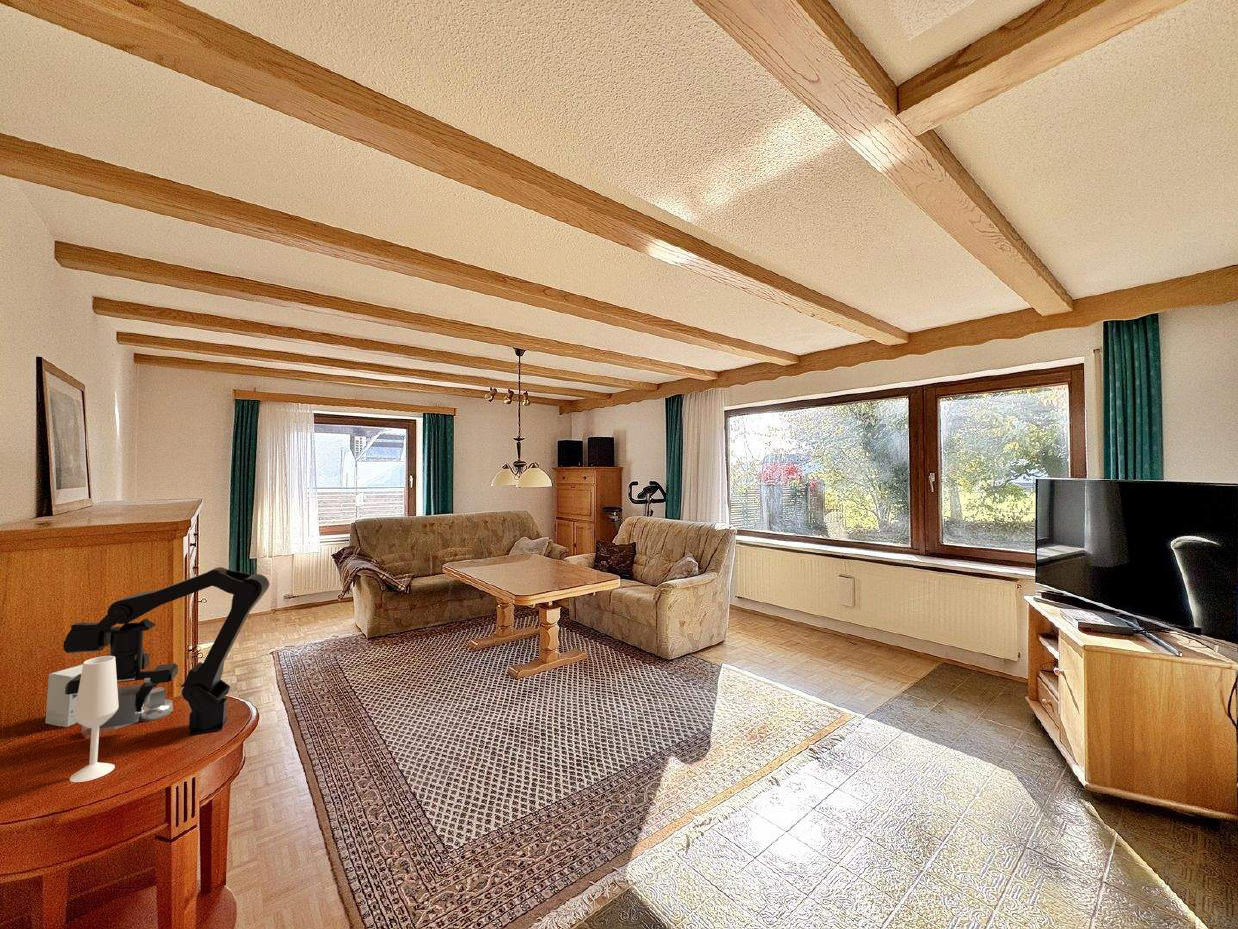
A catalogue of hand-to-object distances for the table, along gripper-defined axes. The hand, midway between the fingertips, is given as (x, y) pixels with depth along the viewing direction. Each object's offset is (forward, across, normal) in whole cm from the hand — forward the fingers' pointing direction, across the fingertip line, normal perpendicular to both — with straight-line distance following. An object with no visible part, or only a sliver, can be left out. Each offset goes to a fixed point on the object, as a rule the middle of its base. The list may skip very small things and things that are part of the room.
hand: (122, 713), depth 119 cm
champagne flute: (+6, 0, +15) cm, 17 cm away
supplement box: (+6, +14, -16) cm, 22 cm away
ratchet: (+6, +1, -9) cm, 10 cm away
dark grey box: (+2, 0, 0) cm, 2 cm away
